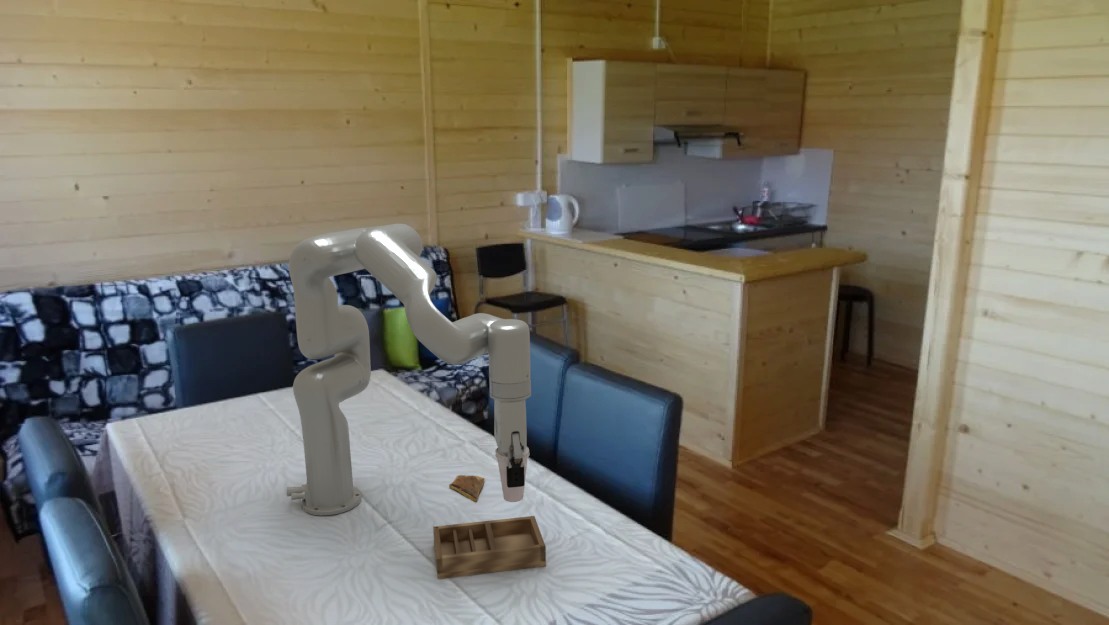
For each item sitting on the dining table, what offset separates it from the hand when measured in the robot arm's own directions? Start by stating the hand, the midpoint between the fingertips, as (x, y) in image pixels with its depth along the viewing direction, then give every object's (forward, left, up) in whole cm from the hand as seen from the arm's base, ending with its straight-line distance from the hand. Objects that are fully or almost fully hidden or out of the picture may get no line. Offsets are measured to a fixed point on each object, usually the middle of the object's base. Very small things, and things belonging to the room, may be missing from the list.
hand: (512, 477), depth 148 cm
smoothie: (0, 0, -4) cm, 4 cm away
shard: (-5, +29, -16) cm, 34 cm away
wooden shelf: (-5, 0, -16) cm, 16 cm away
